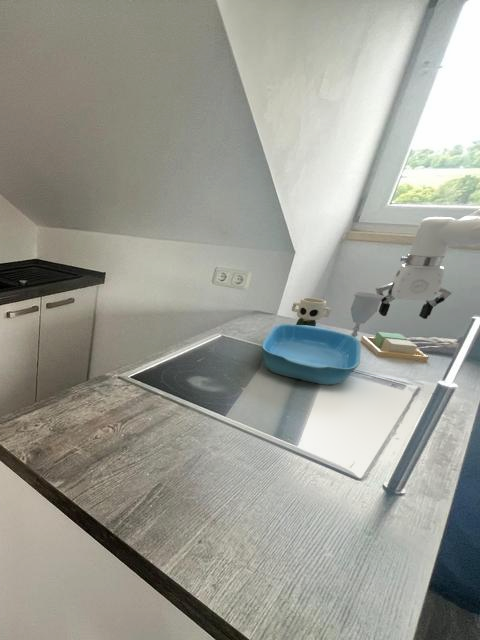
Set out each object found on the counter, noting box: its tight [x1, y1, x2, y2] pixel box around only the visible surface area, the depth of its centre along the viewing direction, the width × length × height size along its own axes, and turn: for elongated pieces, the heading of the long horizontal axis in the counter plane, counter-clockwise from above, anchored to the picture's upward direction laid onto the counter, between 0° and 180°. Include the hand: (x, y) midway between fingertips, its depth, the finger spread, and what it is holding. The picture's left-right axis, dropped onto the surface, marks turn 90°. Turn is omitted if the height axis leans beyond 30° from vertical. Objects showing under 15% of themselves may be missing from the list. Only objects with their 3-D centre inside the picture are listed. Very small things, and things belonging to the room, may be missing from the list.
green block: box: [373, 331, 408, 348], centre depth 126 cm, size 6×5×4 cm
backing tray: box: [360, 335, 430, 363], centre depth 124 cm, size 12×15×2 cm
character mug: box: [291, 297, 332, 327], centre depth 137 cm, size 11×7×13 cm, turn 42°
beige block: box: [381, 338, 418, 355], centre depth 121 cm, size 6×5×4 cm
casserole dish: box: [261, 323, 361, 386], centre depth 116 cm, size 37×22×7 cm, turn 139°
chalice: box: [350, 291, 386, 338], centre depth 125 cm, size 7×7×18 cm
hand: (402, 316), depth 123 cm, fingers open, 9 cm apart
